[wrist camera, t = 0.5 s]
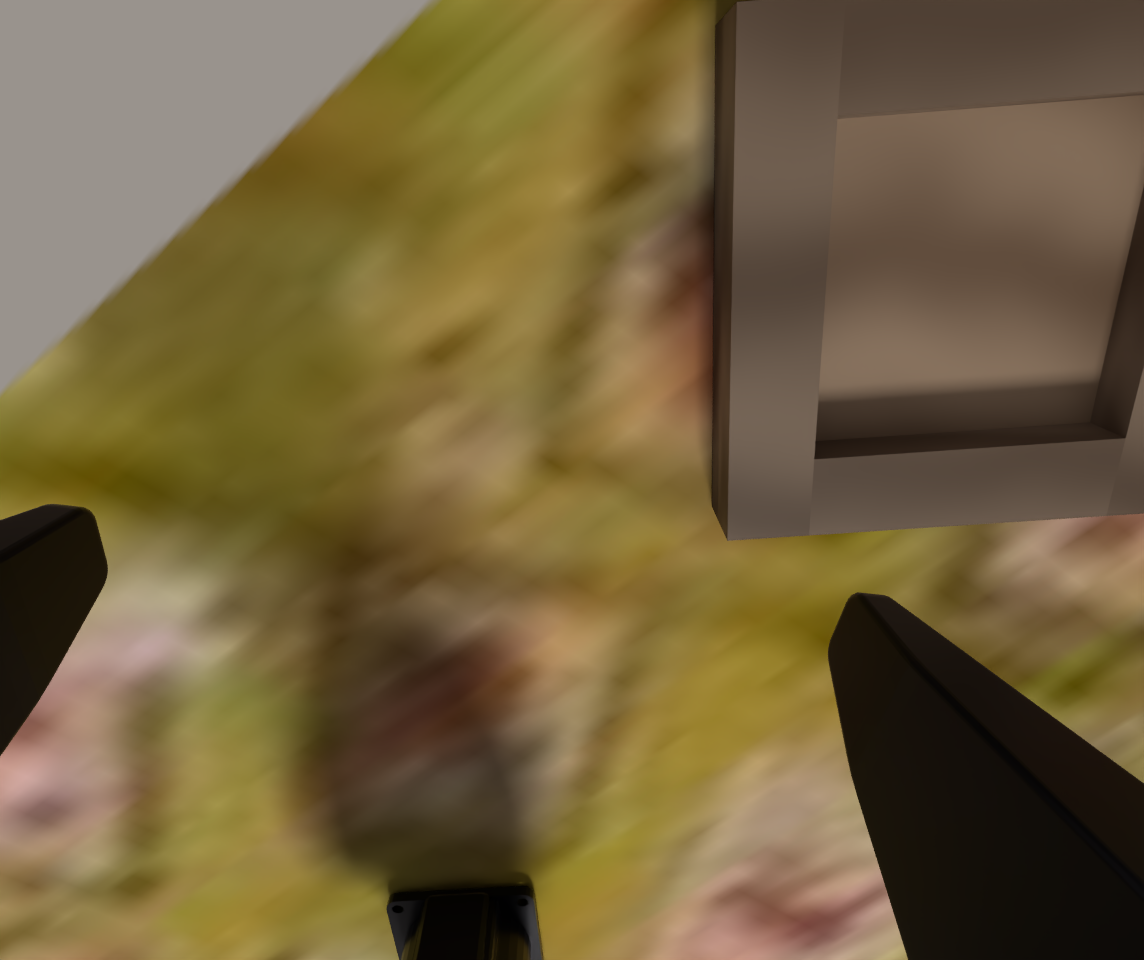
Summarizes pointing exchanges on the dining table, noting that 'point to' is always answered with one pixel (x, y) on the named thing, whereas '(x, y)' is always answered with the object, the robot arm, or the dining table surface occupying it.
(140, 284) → the dining table surface
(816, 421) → the brown square tray
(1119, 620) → the dining table surface
